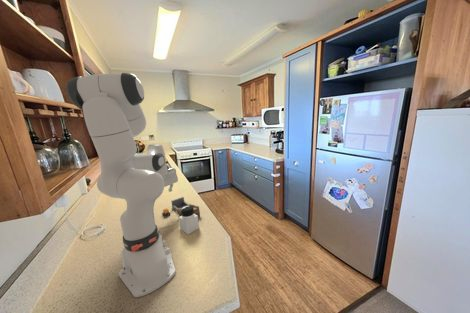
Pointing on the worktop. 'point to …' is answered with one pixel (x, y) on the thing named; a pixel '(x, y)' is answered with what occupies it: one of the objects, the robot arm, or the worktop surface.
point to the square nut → (166, 214)
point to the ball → (165, 210)
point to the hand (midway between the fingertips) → (163, 194)
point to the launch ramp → (196, 210)
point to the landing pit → (179, 204)
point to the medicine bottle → (188, 220)
